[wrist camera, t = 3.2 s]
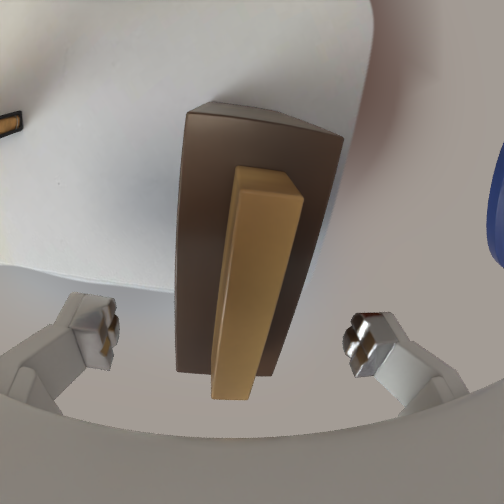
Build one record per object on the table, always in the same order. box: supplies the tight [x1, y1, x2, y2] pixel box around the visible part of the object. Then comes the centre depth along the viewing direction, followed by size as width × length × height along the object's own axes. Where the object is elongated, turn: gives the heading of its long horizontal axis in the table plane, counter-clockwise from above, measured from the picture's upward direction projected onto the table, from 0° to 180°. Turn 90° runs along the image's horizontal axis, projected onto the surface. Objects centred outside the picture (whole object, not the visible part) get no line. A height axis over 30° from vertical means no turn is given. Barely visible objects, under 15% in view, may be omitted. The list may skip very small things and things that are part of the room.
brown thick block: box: [175, 102, 344, 376], centre depth 17 cm, size 5×12×13 cm, turn 171°
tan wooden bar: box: [211, 166, 304, 400], centre depth 10 cm, size 2×9×2 cm, turn 171°
